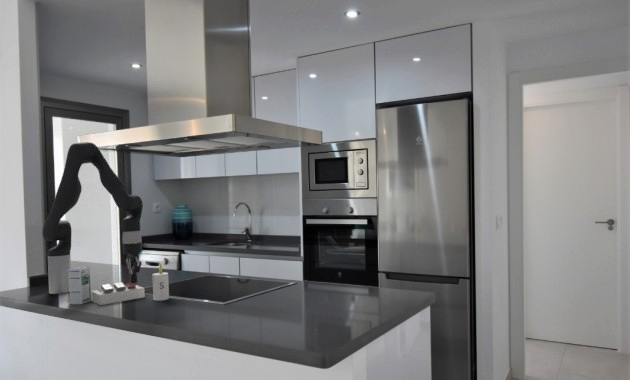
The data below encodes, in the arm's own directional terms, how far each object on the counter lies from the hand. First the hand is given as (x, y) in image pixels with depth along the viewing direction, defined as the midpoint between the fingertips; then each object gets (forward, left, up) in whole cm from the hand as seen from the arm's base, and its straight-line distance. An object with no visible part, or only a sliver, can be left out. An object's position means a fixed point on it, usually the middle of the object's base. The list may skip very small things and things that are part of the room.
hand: (134, 282), depth 201 cm
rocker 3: (-3, 0, -1) cm, 3 cm away
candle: (+10, +7, -7) cm, 14 cm away
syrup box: (-11, -18, -7) cm, 22 cm away
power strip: (-5, -2, -7) cm, 9 cm away
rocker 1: (-3, -10, -1) cm, 10 cm away
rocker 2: (-3, -5, -1) cm, 6 cm away
